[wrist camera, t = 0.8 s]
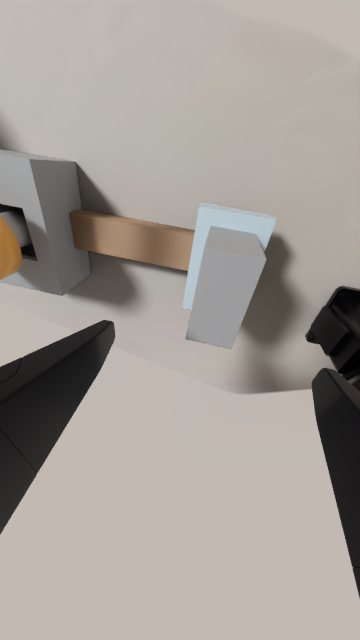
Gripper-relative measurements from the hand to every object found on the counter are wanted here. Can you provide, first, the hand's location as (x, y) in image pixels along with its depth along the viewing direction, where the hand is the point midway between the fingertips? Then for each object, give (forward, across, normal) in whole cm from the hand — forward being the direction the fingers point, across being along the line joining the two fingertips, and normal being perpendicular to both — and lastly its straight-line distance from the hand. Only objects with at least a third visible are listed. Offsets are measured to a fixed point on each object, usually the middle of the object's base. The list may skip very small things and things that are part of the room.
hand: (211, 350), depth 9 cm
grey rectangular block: (+13, +17, -1) cm, 21 cm away
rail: (+13, +6, 0) cm, 14 cm away
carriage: (+11, 0, 0) cm, 11 cm away
